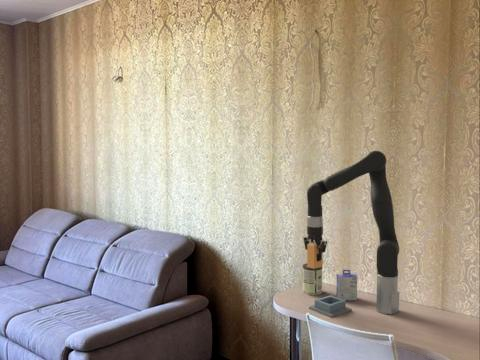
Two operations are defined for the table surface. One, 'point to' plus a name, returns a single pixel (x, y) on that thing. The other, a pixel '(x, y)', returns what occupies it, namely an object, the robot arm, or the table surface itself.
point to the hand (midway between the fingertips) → (315, 259)
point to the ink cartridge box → (347, 286)
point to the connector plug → (313, 256)
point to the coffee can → (312, 280)
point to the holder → (330, 306)
